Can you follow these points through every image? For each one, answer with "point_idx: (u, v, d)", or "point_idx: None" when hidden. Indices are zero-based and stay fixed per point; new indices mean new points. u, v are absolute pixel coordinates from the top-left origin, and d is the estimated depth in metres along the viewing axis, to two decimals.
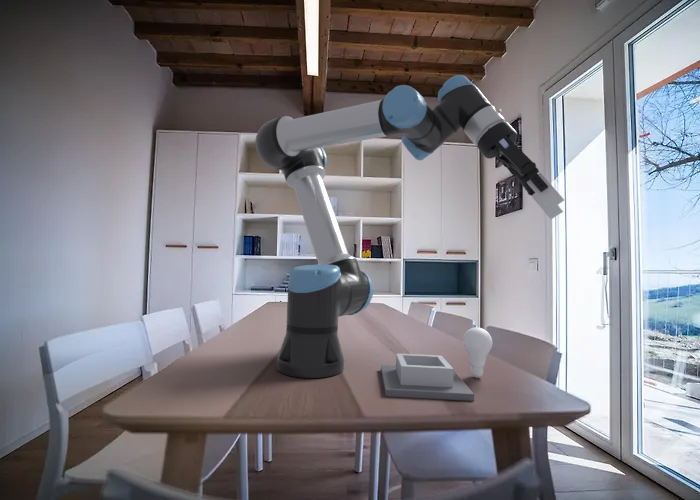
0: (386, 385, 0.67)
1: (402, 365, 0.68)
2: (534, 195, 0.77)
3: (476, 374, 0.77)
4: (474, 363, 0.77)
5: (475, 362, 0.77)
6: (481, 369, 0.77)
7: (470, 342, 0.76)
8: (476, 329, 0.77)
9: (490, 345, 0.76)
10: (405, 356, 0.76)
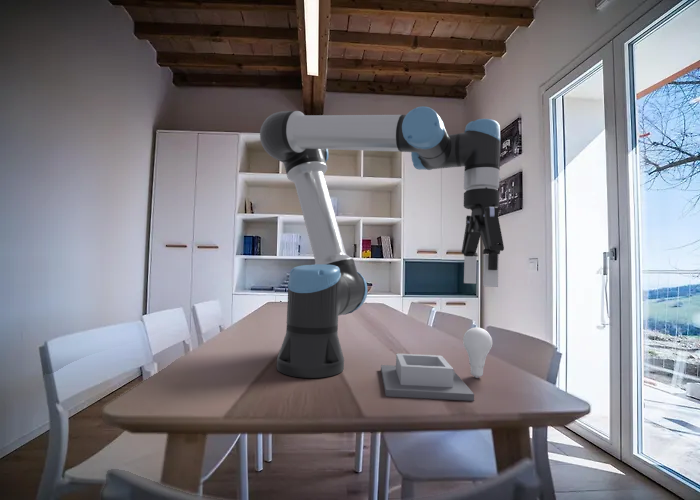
0: (386, 385, 0.67)
1: (402, 365, 0.68)
2: (467, 257, 0.85)
3: (476, 374, 0.77)
4: (474, 363, 0.77)
5: (475, 362, 0.77)
6: (481, 369, 0.77)
7: (470, 342, 0.76)
8: (476, 329, 0.77)
9: (490, 345, 0.76)
10: (405, 356, 0.76)
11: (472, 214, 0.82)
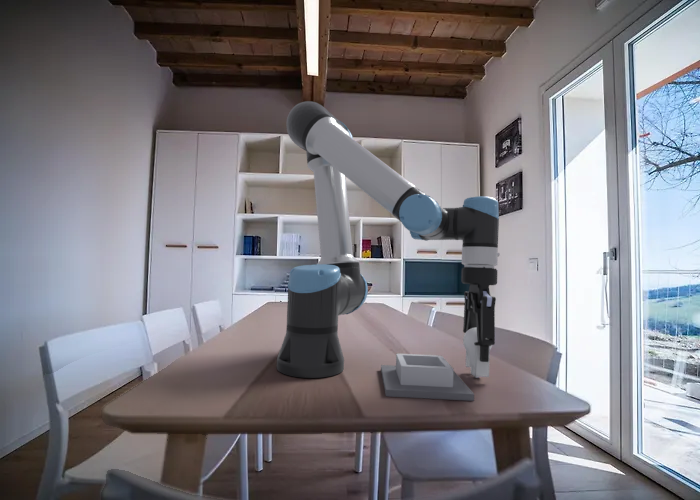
0: (386, 385, 0.67)
1: (402, 365, 0.68)
2: None
3: None
4: (474, 363, 0.77)
5: None
6: None
7: (470, 342, 0.76)
8: (476, 329, 0.77)
9: None
10: (405, 356, 0.76)
11: (470, 287, 0.82)
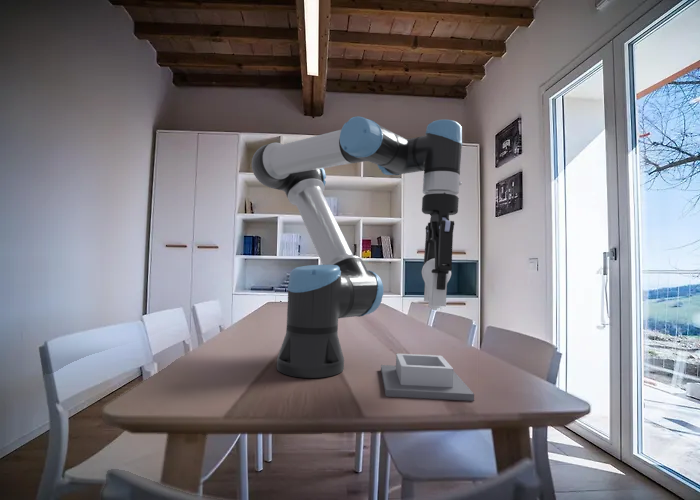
0: (386, 385, 0.67)
1: (402, 365, 0.68)
2: None
3: None
4: None
5: None
6: None
7: (428, 271, 0.73)
8: None
9: (448, 275, 0.73)
10: (405, 356, 0.76)
11: (430, 219, 0.78)
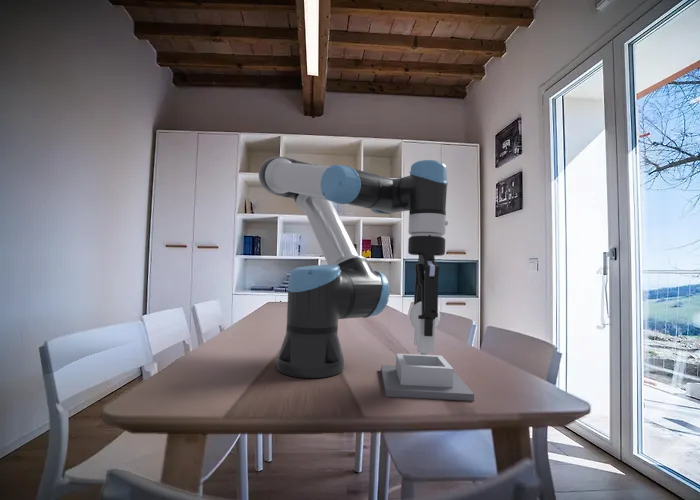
0: (386, 385, 0.67)
1: (402, 365, 0.68)
2: None
3: None
4: None
5: None
6: None
7: (415, 316, 0.71)
8: None
9: (436, 319, 0.71)
10: (405, 356, 0.76)
11: (418, 260, 0.76)
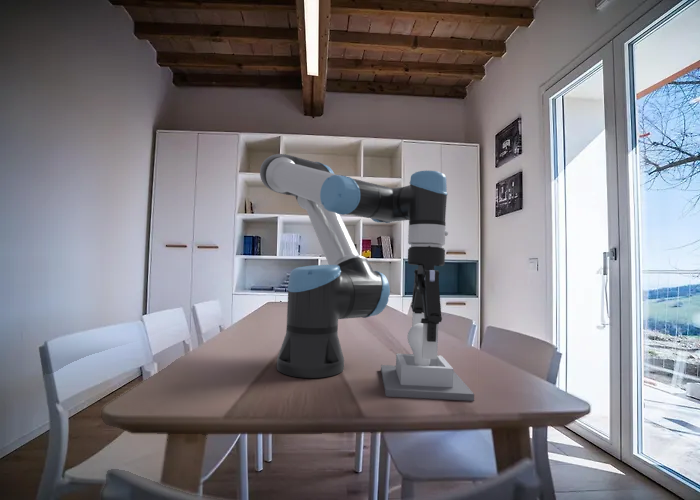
0: (386, 385, 0.67)
1: (402, 365, 0.68)
2: (415, 315, 0.79)
3: None
4: (418, 361, 0.72)
5: (419, 360, 0.72)
6: None
7: (413, 338, 0.71)
8: (420, 324, 0.73)
9: None
10: (405, 356, 0.76)
11: (418, 270, 0.76)
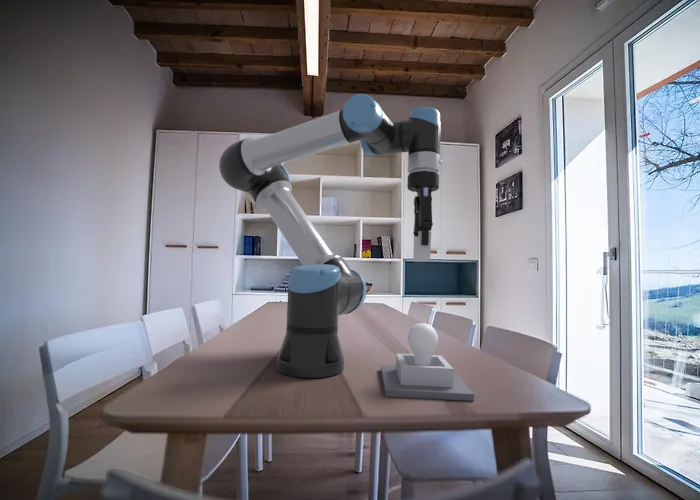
0: (386, 385, 0.67)
1: (402, 365, 0.68)
2: (416, 237, 0.91)
3: None
4: (418, 361, 0.72)
5: (420, 360, 0.71)
6: None
7: (413, 338, 0.71)
8: (420, 325, 0.72)
9: (434, 342, 0.71)
10: (405, 356, 0.76)
11: None
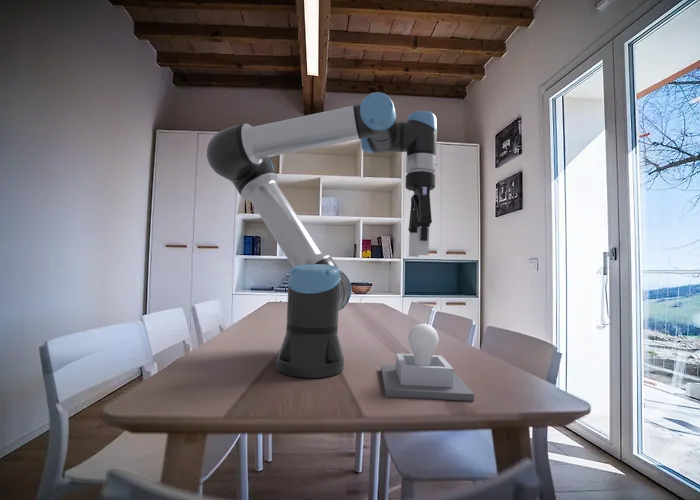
0: (386, 385, 0.67)
1: (402, 365, 0.68)
2: (411, 234, 0.97)
3: None
4: (419, 362, 0.72)
5: (420, 361, 0.71)
6: None
7: (414, 339, 0.71)
8: (421, 325, 0.72)
9: (435, 342, 0.71)
10: (405, 356, 0.76)
11: (414, 195, 0.94)
